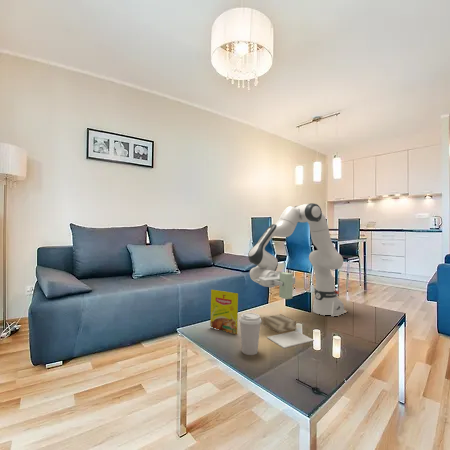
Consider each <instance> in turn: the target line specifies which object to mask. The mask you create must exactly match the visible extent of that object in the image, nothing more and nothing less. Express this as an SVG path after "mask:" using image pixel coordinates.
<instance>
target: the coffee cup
mask: <svg viewBox="0 0 450 450" xmlns="http://www.w3.org/2000/svg"><path fill="white" fill-rule="evenodd" d="M238 321H239V323H240V340H241V342H240V343H241V353H243V354H244V355H246V356H255V355H257V354H258V353H259V352H258V350H259V342H260V341H259V339H260V331H261V323H263V322H262V318H261V315H260V314H259V313H255V312H243V313H241V315H240V317H238Z"/></svg>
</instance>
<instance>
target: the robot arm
mask: <svg viewBox="0 0 450 450" xmlns="http://www.w3.org/2000/svg"><path fill="white" fill-rule="evenodd" d="M298 223H307V224H308V225H309V233H310V237H311V241H312V244H313V245H314V247H315V248H316V250H313V251H310V253H309V256H308V260H309V262H310V264H311V265H312V267H313V271H314V276H315V277H314V278H315V289H314V300H313V306H312V308H313V309H312V313H314V314H317V315H319V314H320V316H325V315H331V316H330V317H334V316H338V315H341V314H343V313H345V312H346V311H345V310H346V309H345V305H344V302H343V301H342V300H341V299H339V298H338V297H337V295H339V294H340V291H338V290H335V277H334V275H333V274H332V272H331V270H332V271H333V270H339V269H341V268H342V267H343V265H344V258H343V256H342V255H341V253H339V252H338V251H337V248H336V247H335V245H334V244H333V241H332V239H331V238H332V237H331V234H330V229H329V226H328V221H327V219H326V216H325V214H324V213H323V212H322V208H321V206H320V205H319V204H317V203H303V204H301V205H295V206H291V205H289V206H287V207H286V208H284V210H283V211H282V213H281V214H280V216H279V218H278V219H277V220H276V222H275V223H274V224H273V223H272V224H270V225H269V226H268V227H267V228H266V229H265V231H264V232H263V233H262V235H261V236H260V238H259V239H258V241H257V242H256V243H255V244H254V246H253V247H251V249H250V250H249V252H248V254H247V256H248V261H249V262H250V263H251V264H253V265H255V266H254V267H252V268H251V269H250V270H249V277H250V279H251V280H252V281H253V282H254V283H256V284H258V285H260V286H262V287H265V288H266V287H268V288H274V287H278V286H279V285H280V286H284V282H280V273H282V272H283V271H277V269H278V265H279V260H278V258H277V257H276V256H274V255H272V254H271V253H270V252H269V251H267V250H266V246H267V245H268V244H269V242H270V240H271V239H272V238H274V237H279V238H289V237H290V236H291V235H293V233H294V231H295V229H296V227H297V225H298ZM295 284H296V276H294V275H293V285H295ZM344 309H345V310H344ZM343 315H344V314H343ZM341 316H342V315H341ZM338 317H339V316H338Z"/></svg>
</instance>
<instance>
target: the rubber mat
mask: <svg viewBox="0 0 450 450" xmlns="http://www.w3.org/2000/svg"><path fill="white" fill-rule="evenodd" d="M266 339H268V340H270V341H271V342H273V343H274V344H276V345H278V346H279V347H280V348H282V349H288V348H290V347H295V346H299V345H303V344H306V343H307V344H308V343H311V342H314V341H315V340H314V339H313V338H311V337H310V336H307V335H305V334H303V333H301V332H299V331H298V330H294V331H292V330H291V331H288V332H284V333H279V334H274V335H270V336H267V337H266Z"/></svg>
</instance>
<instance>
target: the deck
mask: <svg viewBox="0 0 450 450" xmlns="http://www.w3.org/2000/svg"><path fill="white" fill-rule="evenodd" d="M263 326H265V327H267V328H269V329H270V330H272V331H274V332H276V333H282V332H286V331H288V332H289V331H292V330H296V329H297V321H296V320H294V319H292V318H290V317H288V316H286V315H283V314H280V313H279V314H275V315H269V316H263Z"/></svg>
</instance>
